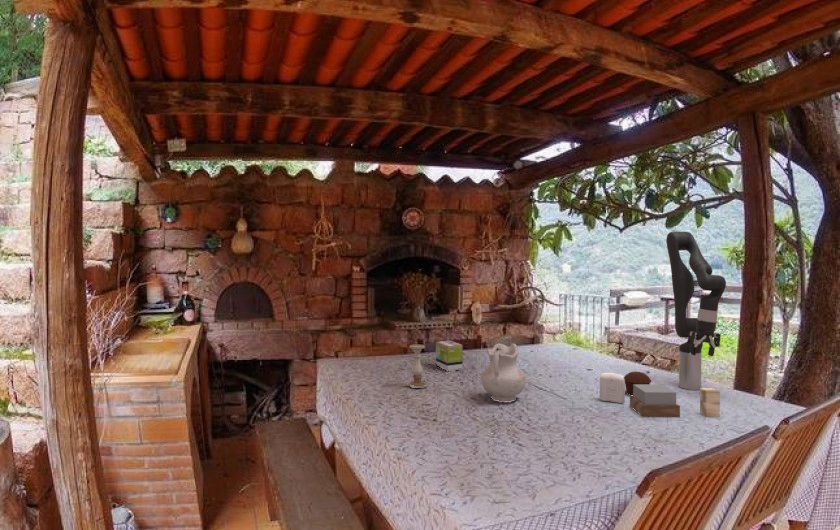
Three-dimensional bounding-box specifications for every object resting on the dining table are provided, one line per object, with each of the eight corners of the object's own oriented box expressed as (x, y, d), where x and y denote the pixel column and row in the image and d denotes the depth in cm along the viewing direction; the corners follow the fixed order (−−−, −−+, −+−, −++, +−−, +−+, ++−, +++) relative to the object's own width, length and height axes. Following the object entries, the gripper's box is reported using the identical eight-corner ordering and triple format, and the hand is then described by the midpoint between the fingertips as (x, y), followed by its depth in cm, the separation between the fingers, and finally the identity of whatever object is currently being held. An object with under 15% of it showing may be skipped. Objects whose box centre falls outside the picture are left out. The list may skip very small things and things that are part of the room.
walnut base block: (630, 407, 209) (630, 395, 209) (663, 407, 209) (663, 395, 209) (643, 418, 195) (643, 405, 195) (679, 418, 195) (679, 405, 195)
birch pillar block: (700, 412, 200) (700, 388, 199) (712, 412, 199) (712, 388, 199) (706, 416, 195) (706, 391, 194) (719, 416, 194) (719, 391, 194)
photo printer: (625, 401, 216) (625, 373, 215) (624, 404, 212) (624, 375, 212) (600, 398, 221) (600, 370, 221) (598, 401, 217) (598, 372, 217)
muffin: (622, 395, 225) (622, 373, 224) (624, 389, 234) (624, 368, 234) (650, 399, 219) (650, 376, 219) (652, 392, 229) (652, 371, 229)
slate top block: (633, 396, 208) (633, 384, 208) (662, 396, 208) (662, 384, 208) (645, 404, 196) (645, 392, 196) (676, 405, 196) (676, 392, 196)
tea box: (435, 367, 286) (434, 341, 286) (450, 365, 290) (450, 339, 290) (447, 372, 272) (447, 345, 272) (463, 370, 277) (463, 344, 276)
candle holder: (419, 390, 237) (418, 348, 237) (404, 387, 242) (404, 346, 242) (430, 386, 244) (429, 345, 243) (415, 383, 249) (415, 343, 249)
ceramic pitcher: (523, 410, 208) (528, 351, 207) (477, 404, 212) (481, 346, 211) (523, 396, 229) (527, 343, 228) (481, 391, 233) (485, 338, 232)
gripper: (715, 318, 225) (709, 353, 226) (686, 316, 222) (681, 352, 224) (727, 322, 217) (722, 358, 219) (698, 320, 215) (693, 357, 217)
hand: (701, 355), depth 221 cm, fingers open, 8 cm apart
